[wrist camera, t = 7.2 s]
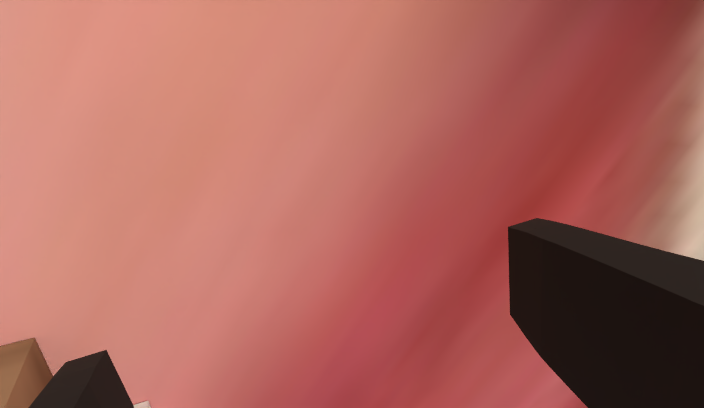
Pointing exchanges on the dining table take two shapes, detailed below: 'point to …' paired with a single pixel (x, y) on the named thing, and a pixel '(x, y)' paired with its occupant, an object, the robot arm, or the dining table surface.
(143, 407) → the cubby lanes
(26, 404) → the green and brown toy
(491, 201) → the dining table surface
